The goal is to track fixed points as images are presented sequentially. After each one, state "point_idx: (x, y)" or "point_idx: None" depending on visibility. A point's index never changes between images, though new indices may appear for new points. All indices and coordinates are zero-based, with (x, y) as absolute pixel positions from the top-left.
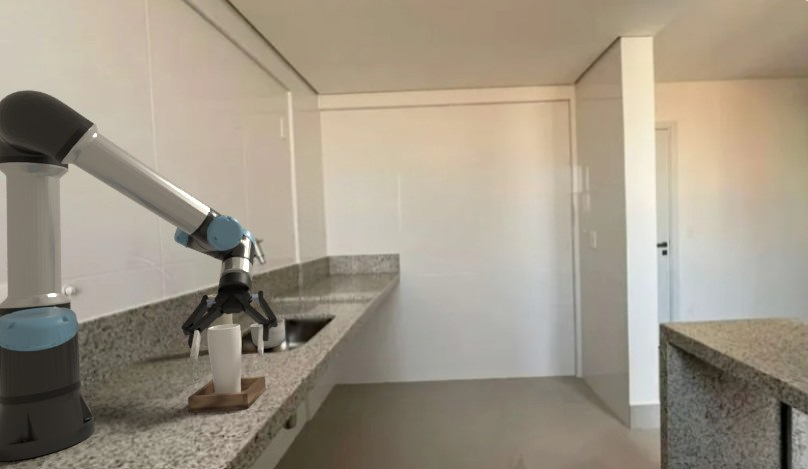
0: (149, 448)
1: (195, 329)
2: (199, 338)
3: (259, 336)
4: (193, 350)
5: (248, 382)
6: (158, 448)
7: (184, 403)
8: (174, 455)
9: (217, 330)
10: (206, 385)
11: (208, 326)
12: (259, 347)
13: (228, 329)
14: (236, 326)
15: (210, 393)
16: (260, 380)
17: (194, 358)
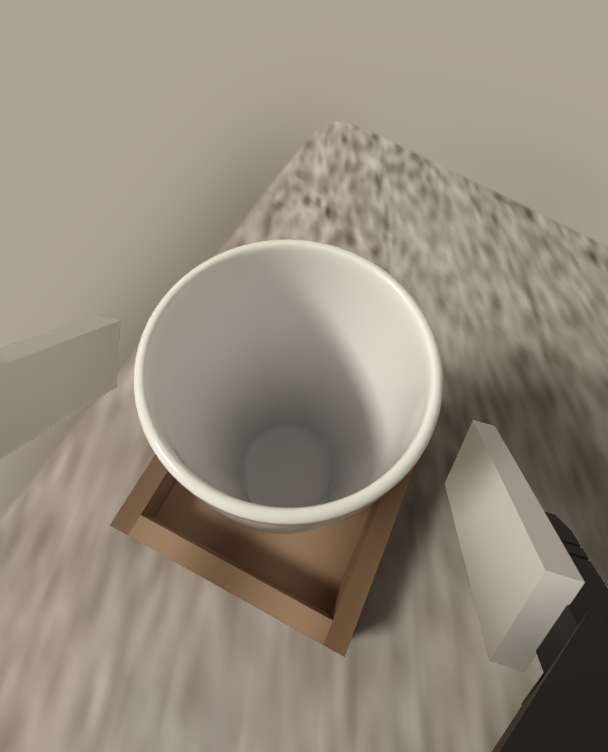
0: (479, 235)
1: (586, 616)
2: (495, 593)
3: (46, 345)
4: (491, 441)
5: (189, 539)
6: (459, 225)
7: (445, 558)
8: (421, 179)
9: (354, 256)
10: (371, 552)
11: None
12: (103, 321)
13: (268, 243)
14: (190, 274)
15: (350, 559)
16: (150, 463)
17: (465, 443)
